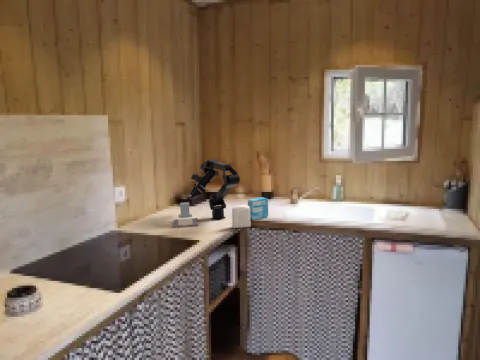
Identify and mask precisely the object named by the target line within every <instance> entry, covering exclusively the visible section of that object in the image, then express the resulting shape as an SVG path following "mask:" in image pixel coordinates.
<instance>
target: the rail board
mask: <svg viewBox="0 0 480 360" xmlns="http://www.w3.org/2000/svg"><path fill="white" fill-rule="evenodd" d="M189 213H190V217H187V218H181V213H178V214H177V216H178V218H177V219H173V223H172V228H176V227H177V228H188V227H198V226H199V224H198V217H193V213H192V212H189Z"/></svg>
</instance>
